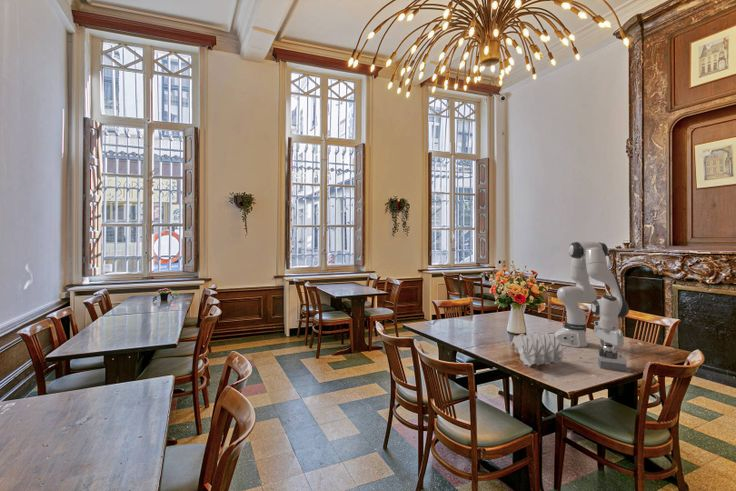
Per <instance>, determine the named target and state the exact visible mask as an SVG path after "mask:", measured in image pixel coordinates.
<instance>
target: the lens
mask: <svg viewBox="0 0 736 491" xmlns="http://www.w3.org/2000/svg"><path fill="white" fill-rule="evenodd" d="M602 348H603V351H604V352H609V353H613V352H611V351H612V350H611V349H613V344H610V343H608V342H606V341H604V342H603V347H602Z"/></svg>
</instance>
